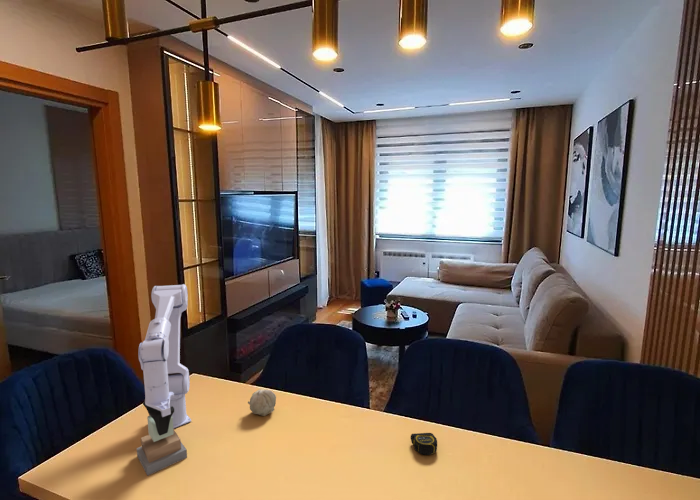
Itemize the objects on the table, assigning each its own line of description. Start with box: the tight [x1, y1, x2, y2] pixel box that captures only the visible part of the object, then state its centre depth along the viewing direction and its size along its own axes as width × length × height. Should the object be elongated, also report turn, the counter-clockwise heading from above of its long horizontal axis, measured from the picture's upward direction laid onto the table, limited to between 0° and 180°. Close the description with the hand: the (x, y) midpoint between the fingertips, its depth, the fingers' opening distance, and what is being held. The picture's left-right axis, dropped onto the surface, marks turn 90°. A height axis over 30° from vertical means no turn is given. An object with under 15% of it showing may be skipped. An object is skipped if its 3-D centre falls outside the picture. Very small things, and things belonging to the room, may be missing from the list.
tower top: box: [140, 428, 182, 463], centre depth 103 cm, size 8×8×3 cm
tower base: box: [136, 442, 188, 477], centre depth 103 cm, size 10×10×3 cm
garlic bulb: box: [247, 388, 277, 417], centre depth 123 cm, size 9×8×9 cm
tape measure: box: [410, 432, 438, 456], centre depth 106 cm, size 7×7×4 cm
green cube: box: [147, 415, 174, 442], centre depth 102 cm, size 5×5×5 cm
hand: (160, 429), depth 102 cm, fingers closed on green cube, 5 cm apart
